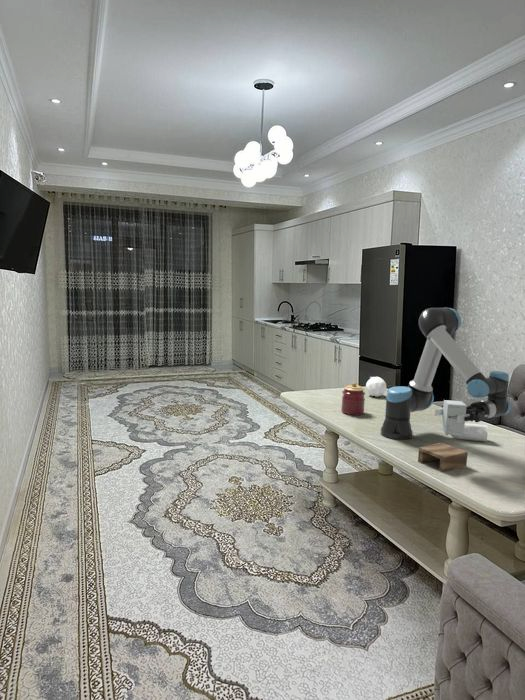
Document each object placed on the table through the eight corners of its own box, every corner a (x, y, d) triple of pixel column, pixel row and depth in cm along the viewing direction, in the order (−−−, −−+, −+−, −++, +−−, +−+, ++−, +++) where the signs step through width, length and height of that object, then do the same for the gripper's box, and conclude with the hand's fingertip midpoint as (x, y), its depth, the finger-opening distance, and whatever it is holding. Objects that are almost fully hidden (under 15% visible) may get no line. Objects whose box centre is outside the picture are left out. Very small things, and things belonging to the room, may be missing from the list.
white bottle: (443, 435, 242) (444, 419, 241) (483, 438, 237) (485, 423, 236) (444, 439, 234) (446, 423, 233) (487, 443, 230) (488, 427, 229)
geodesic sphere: (358, 388, 319) (371, 373, 315) (362, 384, 332) (375, 369, 327) (374, 403, 316) (389, 388, 311) (378, 398, 329) (392, 384, 324)
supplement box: (444, 434, 194) (447, 403, 193) (440, 429, 202) (443, 399, 200) (463, 436, 193) (467, 405, 192) (459, 430, 201) (462, 400, 199)
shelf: (417, 461, 204) (419, 447, 203) (440, 456, 211) (441, 442, 210) (443, 471, 193) (444, 457, 192) (466, 466, 200) (467, 452, 199)
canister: (362, 410, 285) (364, 380, 282) (365, 416, 272) (367, 385, 270) (340, 409, 286) (342, 379, 284) (341, 414, 273) (343, 384, 271)
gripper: (505, 425, 197) (470, 433, 185) (458, 411, 216) (423, 417, 204) (507, 407, 195) (472, 413, 184) (460, 395, 215) (425, 400, 203)
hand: (446, 415), depth 194 cm, fingers closed on supplement box, 10 cm apart
